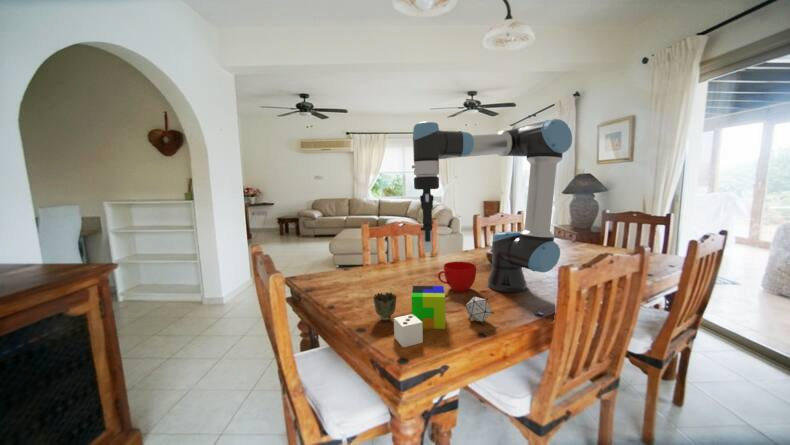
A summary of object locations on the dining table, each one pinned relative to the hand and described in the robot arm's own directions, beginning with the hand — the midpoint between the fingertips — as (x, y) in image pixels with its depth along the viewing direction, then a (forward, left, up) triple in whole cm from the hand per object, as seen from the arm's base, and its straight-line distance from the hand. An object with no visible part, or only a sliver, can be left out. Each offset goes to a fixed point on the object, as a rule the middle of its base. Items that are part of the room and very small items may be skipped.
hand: (427, 248), depth 95 cm
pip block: (+11, +8, -24) cm, 27 cm away
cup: (+12, -7, -24) cm, 28 cm away
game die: (-14, +7, -24) cm, 29 cm away
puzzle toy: (0, 0, -24) cm, 24 cm away
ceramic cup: (-24, -20, -24) cm, 39 cm away
